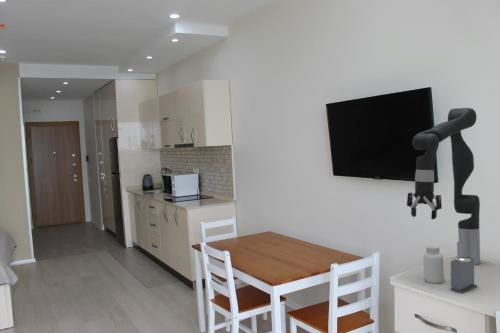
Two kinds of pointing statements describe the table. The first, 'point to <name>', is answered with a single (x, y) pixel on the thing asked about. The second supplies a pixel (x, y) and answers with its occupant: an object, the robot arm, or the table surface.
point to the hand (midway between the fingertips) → (423, 217)
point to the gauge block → (462, 274)
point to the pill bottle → (433, 265)
